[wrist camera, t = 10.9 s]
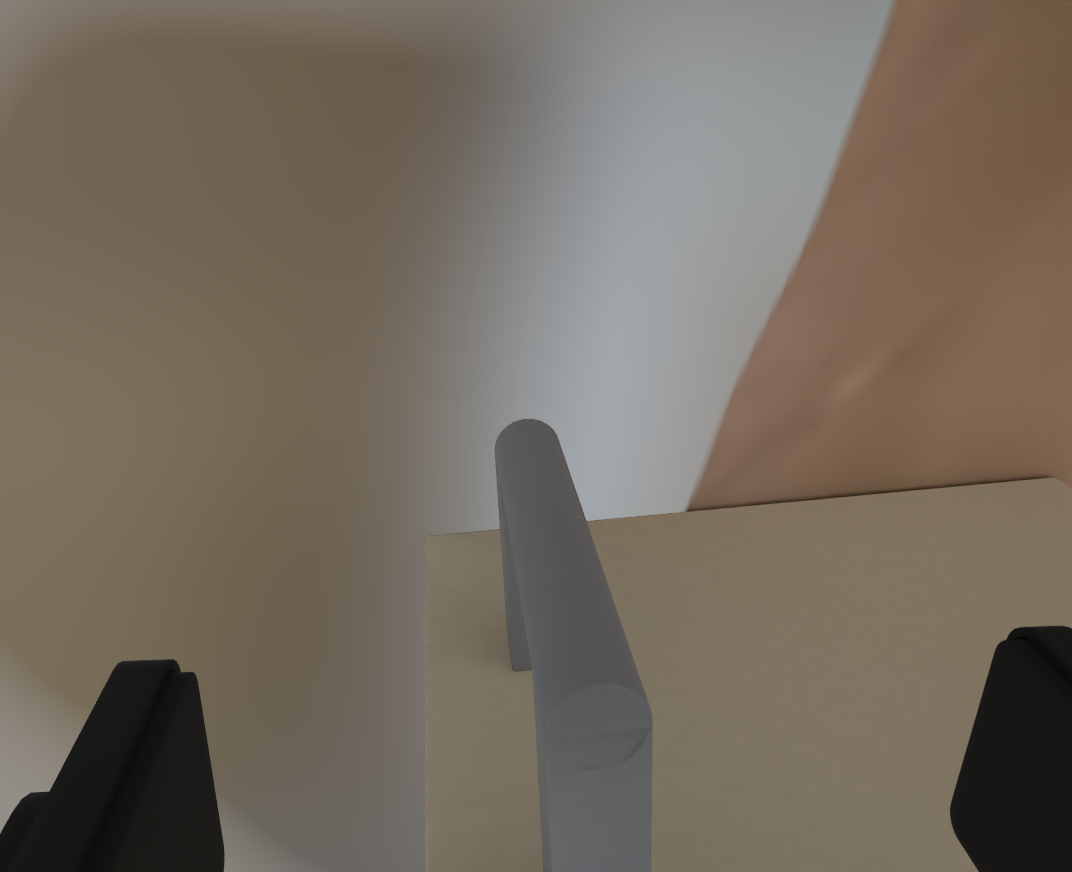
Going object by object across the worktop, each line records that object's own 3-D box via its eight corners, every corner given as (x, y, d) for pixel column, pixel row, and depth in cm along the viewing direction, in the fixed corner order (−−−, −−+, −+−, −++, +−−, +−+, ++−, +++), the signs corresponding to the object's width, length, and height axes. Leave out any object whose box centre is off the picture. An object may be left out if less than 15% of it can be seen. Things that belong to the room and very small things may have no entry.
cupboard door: (406, 353, 27) (349, 1223, 7) (1093, 301, 29) (2602, 862, 9) (428, 561, 30) (433, 1591, 10) (1050, 501, 31) (2107, 1263, 12)
